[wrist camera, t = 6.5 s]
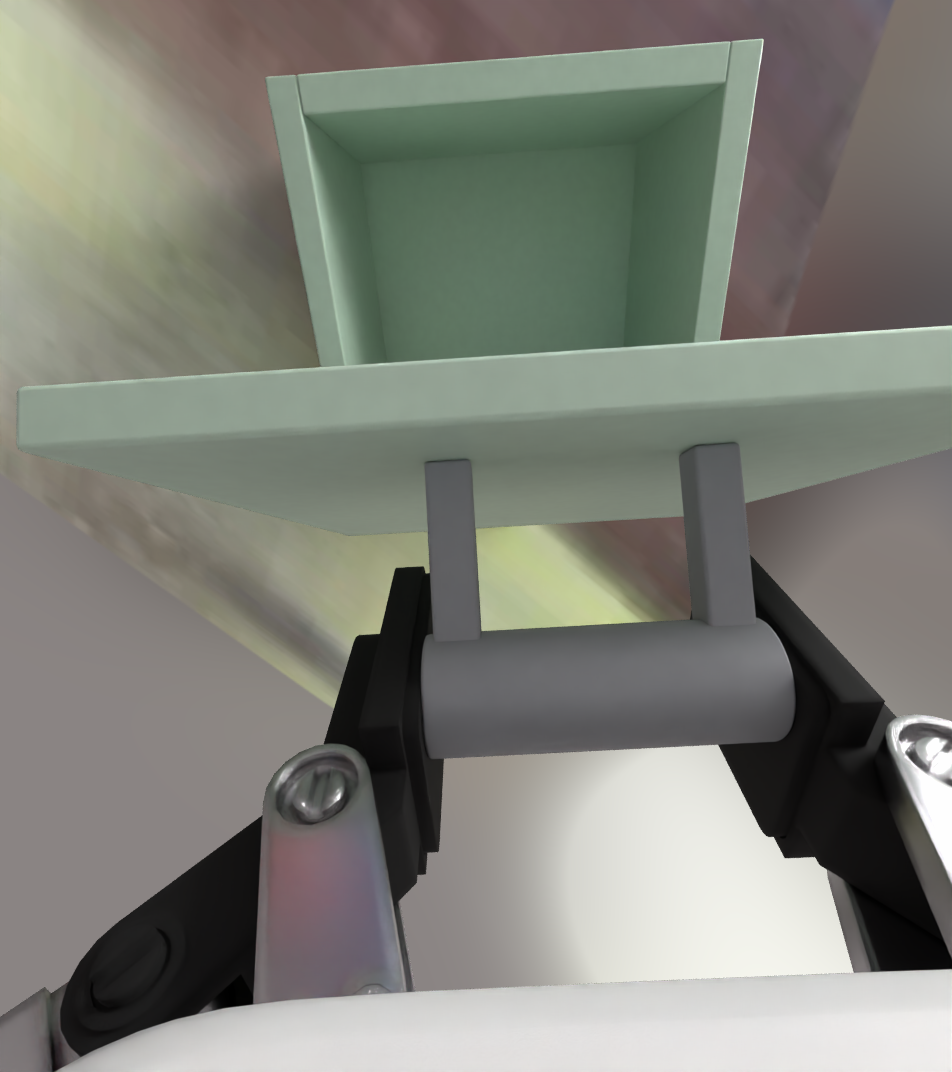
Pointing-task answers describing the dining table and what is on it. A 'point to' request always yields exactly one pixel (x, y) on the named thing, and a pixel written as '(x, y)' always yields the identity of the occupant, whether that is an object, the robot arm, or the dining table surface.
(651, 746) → the chest lid
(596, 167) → the chest
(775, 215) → the dining table surface
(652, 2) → the dining table surface
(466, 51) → the dining table surface
